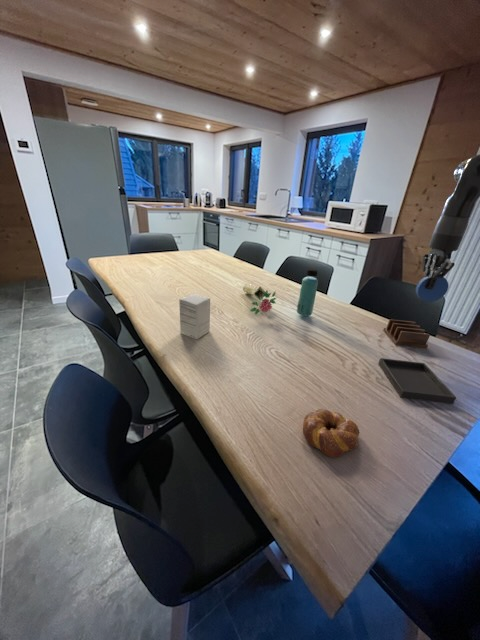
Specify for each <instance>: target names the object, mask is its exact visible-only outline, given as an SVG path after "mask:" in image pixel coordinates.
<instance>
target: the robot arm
mask: <svg viewBox="0 0 480 640" xmlns="http://www.w3.org/2000/svg"><path fill="white" fill-rule="evenodd" d="M453 178H454V181H455V182H456V183H457V184H456V187H455V189H454V191H453V193H452V194H451V195H450V196H449V197H447V199H446V201H445V204H444V206H443V209H442V211H441V215H440V216H439V218H438V221H436V222H437V223H436V224H435V227H434V229H433V233H432V235H431V237H430V240H429V242H428V247H429V248H430V250H429V252H428V253H424V254H423V255H422V264H421V265H422V267H421V269H422V270H421V272H423V275H424V277H426V276H428V275H429V278H428V280H427V283H426V285H425V288H426V289H433V287H434V285H435V283H436V280H437V279H438V278H443V277H444V278H445V276H446V275H447V274H448V273H449V272H450V271H451V270H452V269H453V268H454V267H455V262H452V261H451V259H452V254H453V252H457V251H458V250H459V248H460V245H461V244H462V241H463V239H464V236H465V235H466V231H467V229H468V226H469V223H470V219H471V217H472V214H473V212H474V210H475V208H476V205H477V202H478V200H479V199H480V153H478V154H475V155H473V156H470V157H467V158H466V159H464V160H462V161H461V162H460V163H459V164H458V165H457V166H456V168H455V170H454V172H453Z"/></svg>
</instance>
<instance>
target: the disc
mask: <svg viewBox="0 0 480 640" xmlns="http://www.w3.org/2000/svg"><path fill="white" fill-rule="evenodd" d="M428 278H429V275H428V276H426V277H425V276H423V278H421V279H420V280H419V281H418V283H417V284H416V287H415V295H416V296H417V297H418V299H420V300H421V301H423V302H426V303H433V302H437V301H439V300H440V299H442V298H443V297H444V296H445V295H446V294H447V292H448V290H449V281H448V280H447V279H446V277H445V276H444V277H443V278H438V279H437V280H436V283H435V285H434V287H433V289H426V288H425V285H426V283H427V280H428Z"/></svg>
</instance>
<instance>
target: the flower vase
mask: <svg viewBox="0 0 480 640" xmlns="http://www.w3.org/2000/svg"><path fill="white" fill-rule="evenodd" d="M242 291H243V292H244V293H245V294H248V295H252V296H254V297H255V298H256V299H257V300H258V301H259V303H258V301H252V302H251V304H252V305H253V306H254V307H252V308H251V309H250V310H249V312H251V313H253V312H254V315H257V314H259V313H260V312H262V313H268V312H270V311H271V310H272V308H273V306H272V305H273V304H276V303H277V302H276V301H275V300H276V299H277V297H275V296H276V290H275V291H274V292H273V293H270V292H268V290H264V289H263V288H262V286H256V287H255V286H253V284H251V283H246V284H244V285H243V287H242ZM272 297H273V298H272ZM255 306H256V307H255ZM257 307H258V308H257Z"/></svg>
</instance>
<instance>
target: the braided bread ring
mask: <svg viewBox="0 0 480 640" xmlns="http://www.w3.org/2000/svg"><path fill="white" fill-rule="evenodd" d="M302 422H303V423H302V434H303V437H304V439H305V440H306V442H307V443H308V444H309V445H311V446H312V447H314V448H317V449H318V450H320V451H321V452H322V453H323V454H324V455H326V456H328V457H331V458H337V457H340V456H342V455H343V454H344V453H346V452H348V451H349V450H351V451H353V450H355V449H356V448H357V447H358V444H359V436H360V434H361V433H360V432H361V431H360V429H359V427H358V425H357V423H356V422H354V421H353V420H351V419H349V418H345V417H344V416H343V415H342V414H341V413H339V412H336V411H331V410H329V409H325V408H320V409H317V410H315V411H311V412H310V413H308V414H306V415H305V417H304V419H303V421H302Z"/></svg>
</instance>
